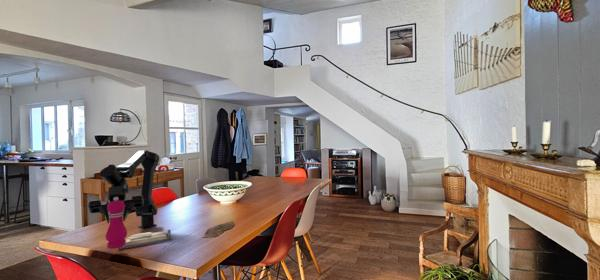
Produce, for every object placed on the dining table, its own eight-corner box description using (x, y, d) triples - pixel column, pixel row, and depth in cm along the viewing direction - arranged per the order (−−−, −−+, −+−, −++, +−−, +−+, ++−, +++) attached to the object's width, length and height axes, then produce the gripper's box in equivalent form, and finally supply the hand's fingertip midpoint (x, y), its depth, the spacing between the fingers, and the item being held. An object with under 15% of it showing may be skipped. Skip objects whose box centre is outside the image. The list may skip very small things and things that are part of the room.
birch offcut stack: (125, 240, 121) (125, 235, 121) (166, 233, 129) (166, 228, 129) (123, 246, 114) (123, 240, 114) (166, 238, 122) (166, 233, 122)
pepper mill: (116, 250, 105) (115, 198, 105) (101, 248, 106) (100, 198, 106) (131, 242, 112) (130, 195, 112) (116, 242, 113) (116, 194, 113)
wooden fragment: (213, 239, 122) (213, 237, 122) (193, 237, 126) (193, 235, 126) (243, 222, 146) (243, 220, 146) (225, 221, 150) (225, 219, 150)
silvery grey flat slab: (121, 243, 121) (120, 237, 121) (170, 234, 130) (170, 229, 130) (118, 249, 113) (118, 244, 113) (171, 240, 122) (170, 234, 122)
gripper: (88, 180, 108) (82, 215, 98) (142, 176, 117) (141, 207, 107) (93, 196, 115) (88, 230, 105) (143, 191, 124) (143, 221, 114)
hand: (116, 221), depth 108 cm, fingers closed on pepper mill, 5 cm apart
